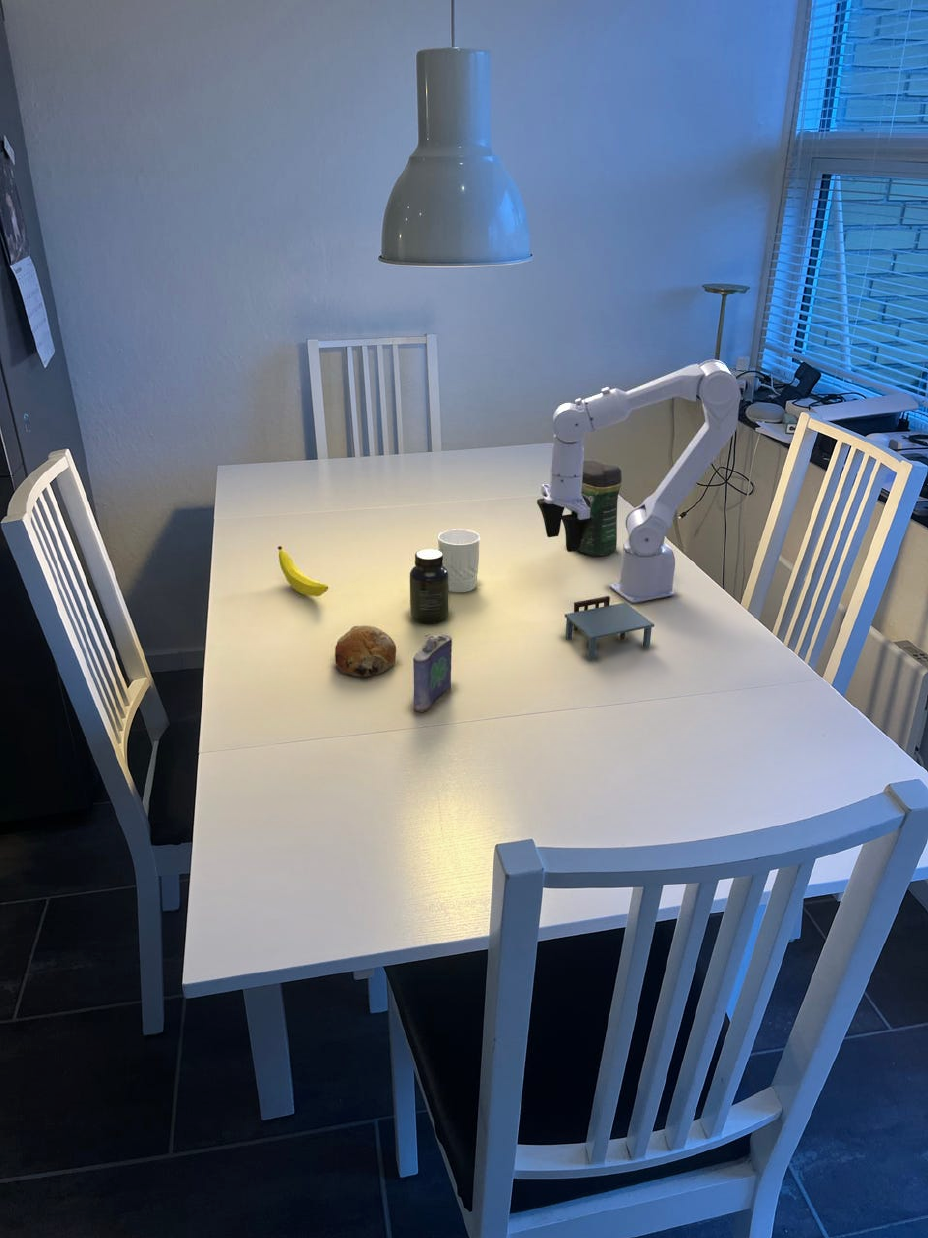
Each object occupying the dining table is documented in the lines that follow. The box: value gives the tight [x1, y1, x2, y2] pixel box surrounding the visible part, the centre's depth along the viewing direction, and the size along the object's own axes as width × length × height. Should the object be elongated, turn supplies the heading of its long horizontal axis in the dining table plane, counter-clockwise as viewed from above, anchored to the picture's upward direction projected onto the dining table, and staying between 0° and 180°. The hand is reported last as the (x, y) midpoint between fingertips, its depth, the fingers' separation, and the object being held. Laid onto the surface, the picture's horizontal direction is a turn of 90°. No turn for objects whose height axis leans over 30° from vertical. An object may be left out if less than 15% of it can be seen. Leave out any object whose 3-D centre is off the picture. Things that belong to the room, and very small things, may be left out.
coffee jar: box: [578, 458, 623, 557], centre depth 195 cm, size 10×8×19 cm
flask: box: [412, 633, 453, 713], centre depth 143 cm, size 9×3×11 cm, turn 151°
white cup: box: [437, 528, 481, 593], centre depth 180 cm, size 8×8×10 cm
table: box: [564, 602, 655, 661], centre depth 161 cm, size 12×9×4 cm
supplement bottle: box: [409, 548, 450, 625], centre depth 168 cm, size 7×7×12 cm
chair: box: [573, 595, 626, 641], centre depth 163 cm, size 7×7×6 cm
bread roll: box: [334, 625, 397, 678], centre depth 154 cm, size 10×10×8 cm
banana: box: [277, 545, 329, 597], centre depth 177 cm, size 3×19×6 cm, turn 36°
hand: (562, 543), depth 177 cm, fingers open, 7 cm apart
